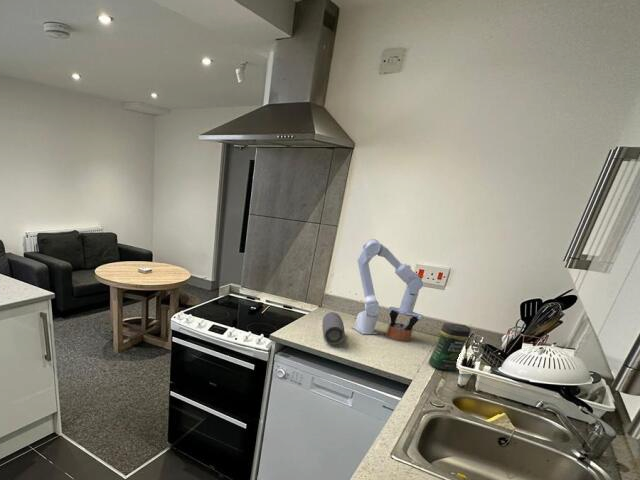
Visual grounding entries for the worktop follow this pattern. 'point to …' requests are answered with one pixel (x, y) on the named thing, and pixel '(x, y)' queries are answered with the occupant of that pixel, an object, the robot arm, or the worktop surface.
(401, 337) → the reddish brown oval basket
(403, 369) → the worktop surface
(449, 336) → the coffee jar
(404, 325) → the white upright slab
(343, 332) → the bluetooth speaker
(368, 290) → the robot arm
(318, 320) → the worktop surface
